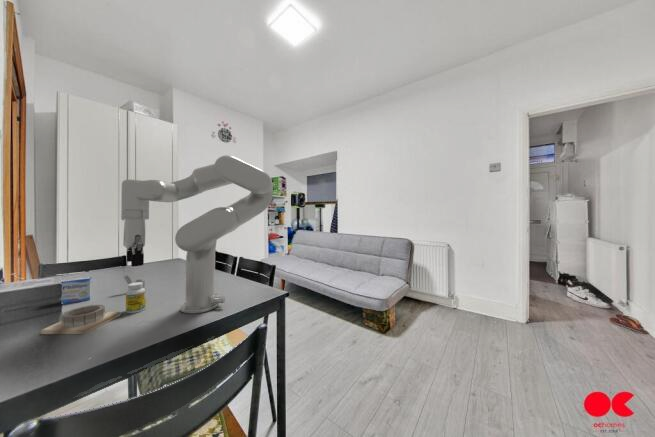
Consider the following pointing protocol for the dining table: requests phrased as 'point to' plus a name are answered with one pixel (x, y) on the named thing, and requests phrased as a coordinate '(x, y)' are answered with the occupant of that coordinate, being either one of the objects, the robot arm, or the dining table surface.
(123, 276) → the lighter
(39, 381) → the dining table surface
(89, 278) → the medicine box
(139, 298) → the supplement bottle
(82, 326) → the collar block
